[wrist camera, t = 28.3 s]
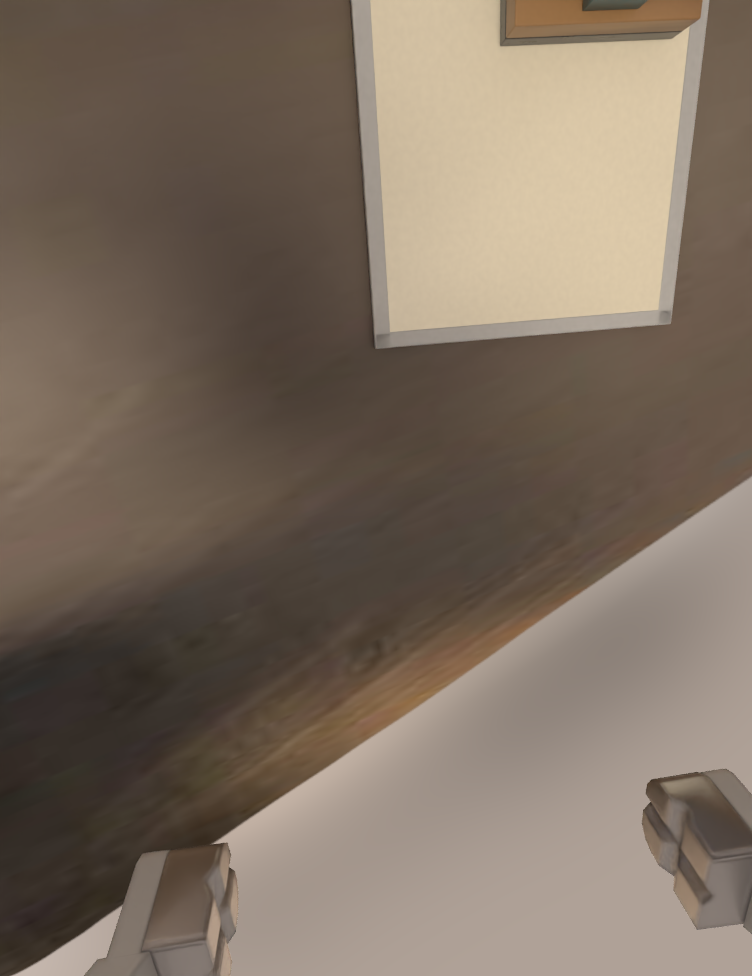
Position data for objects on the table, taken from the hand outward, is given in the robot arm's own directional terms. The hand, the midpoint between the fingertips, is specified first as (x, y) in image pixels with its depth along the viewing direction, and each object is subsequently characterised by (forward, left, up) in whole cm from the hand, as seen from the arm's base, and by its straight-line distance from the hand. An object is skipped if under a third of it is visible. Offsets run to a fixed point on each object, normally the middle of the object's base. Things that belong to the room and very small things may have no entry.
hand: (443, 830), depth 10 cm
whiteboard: (+2, +21, -29) cm, 36 cm away
